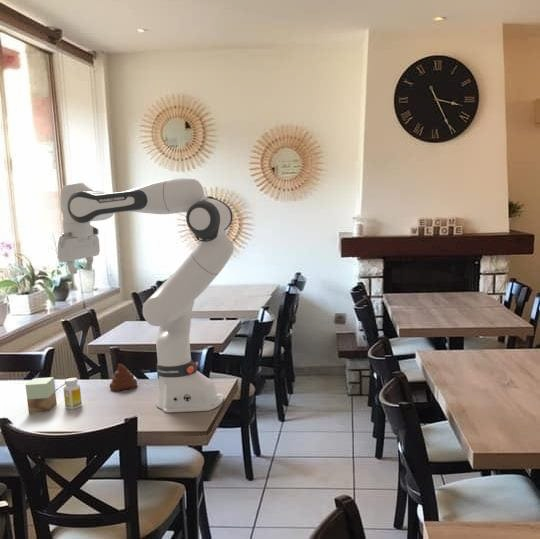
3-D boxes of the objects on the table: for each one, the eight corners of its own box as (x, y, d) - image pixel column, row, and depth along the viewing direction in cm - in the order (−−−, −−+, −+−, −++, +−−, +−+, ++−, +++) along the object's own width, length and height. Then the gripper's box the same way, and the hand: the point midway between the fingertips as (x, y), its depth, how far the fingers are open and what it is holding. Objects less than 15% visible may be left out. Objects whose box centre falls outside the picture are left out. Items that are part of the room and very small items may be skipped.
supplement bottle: (63, 409, 195) (60, 382, 194) (67, 404, 201) (64, 377, 200) (80, 408, 196) (77, 381, 195) (83, 403, 201) (80, 376, 200)
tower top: (55, 391, 201) (53, 377, 200) (48, 397, 194) (46, 383, 193) (35, 392, 201) (33, 378, 200) (27, 399, 194) (25, 385, 193)
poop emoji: (111, 393, 210) (109, 368, 209) (108, 387, 218) (105, 363, 217) (139, 388, 214) (136, 363, 213) (134, 382, 222) (132, 358, 221)
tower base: (56, 404, 201) (55, 391, 201) (49, 412, 194) (48, 397, 194) (36, 406, 201) (35, 392, 201) (28, 413, 194) (27, 399, 194)
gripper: (67, 233, 184) (72, 276, 186) (101, 229, 204) (104, 267, 206) (50, 234, 186) (55, 276, 188) (85, 229, 206) (89, 268, 207)
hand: (81, 272), depth 197 cm, fingers open, 8 cm apart
